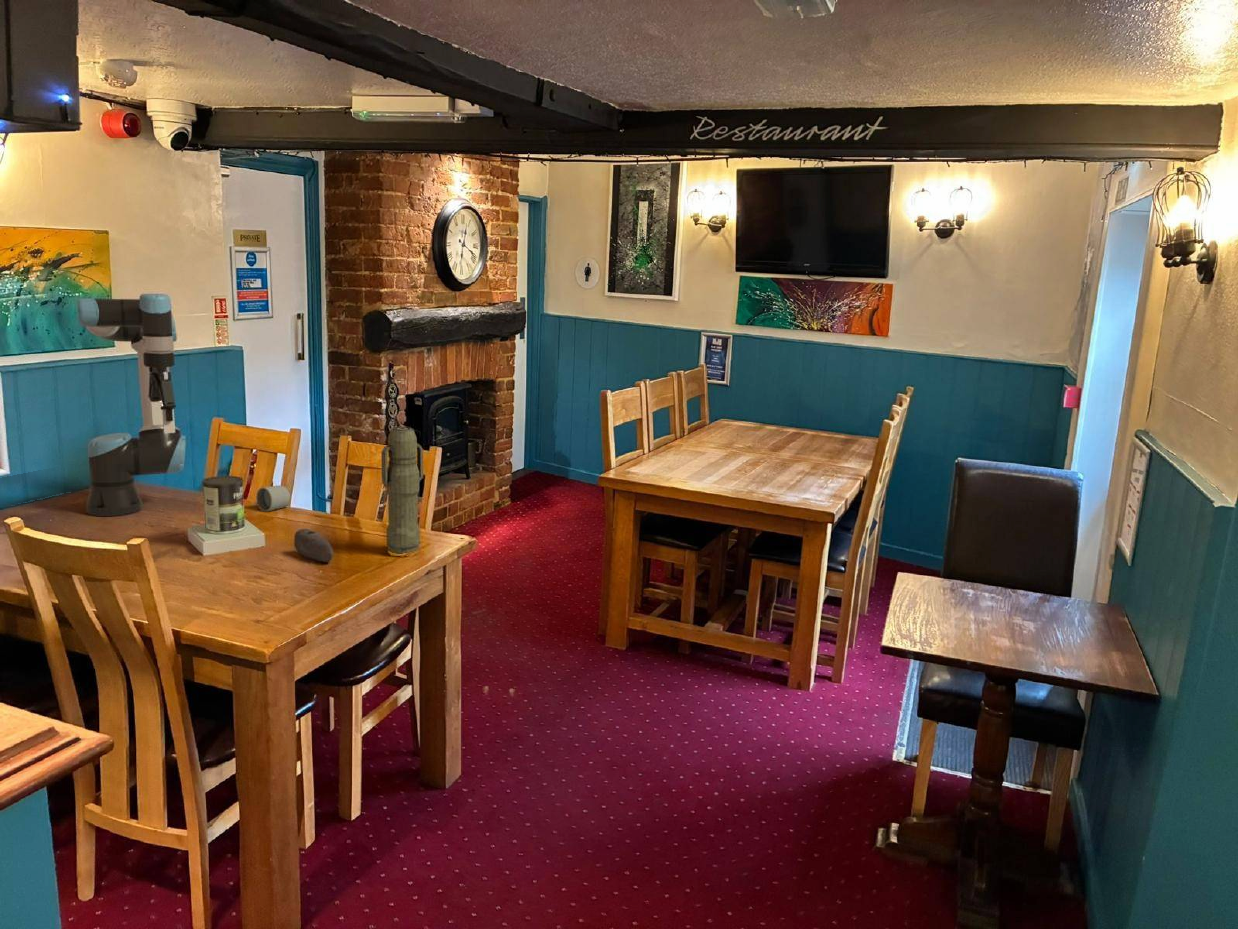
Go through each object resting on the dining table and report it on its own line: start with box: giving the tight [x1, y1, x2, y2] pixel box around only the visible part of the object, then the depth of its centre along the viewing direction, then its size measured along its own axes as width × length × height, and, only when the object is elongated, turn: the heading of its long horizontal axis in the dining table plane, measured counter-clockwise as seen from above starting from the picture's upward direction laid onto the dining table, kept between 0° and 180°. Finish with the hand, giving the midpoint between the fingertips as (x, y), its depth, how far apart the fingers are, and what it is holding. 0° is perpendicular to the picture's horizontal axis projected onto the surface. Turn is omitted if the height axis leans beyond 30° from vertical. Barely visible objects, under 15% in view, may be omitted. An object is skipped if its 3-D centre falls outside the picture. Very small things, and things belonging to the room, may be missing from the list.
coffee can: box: [201, 475, 245, 534], centre depth 251 cm, size 10×10×14 cm
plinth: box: [187, 518, 266, 556], centre depth 252 cm, size 16×16×4 cm
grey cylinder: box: [255, 485, 292, 513], centre depth 288 cm, size 11×8×8 cm
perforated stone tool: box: [293, 528, 334, 563], centre depth 243 cm, size 15×5×7 cm, turn 48°
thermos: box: [381, 426, 424, 554], centre depth 248 cm, size 9×12×35 cm
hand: (163, 428), depth 251 cm, fingers open, 13 cm apart
